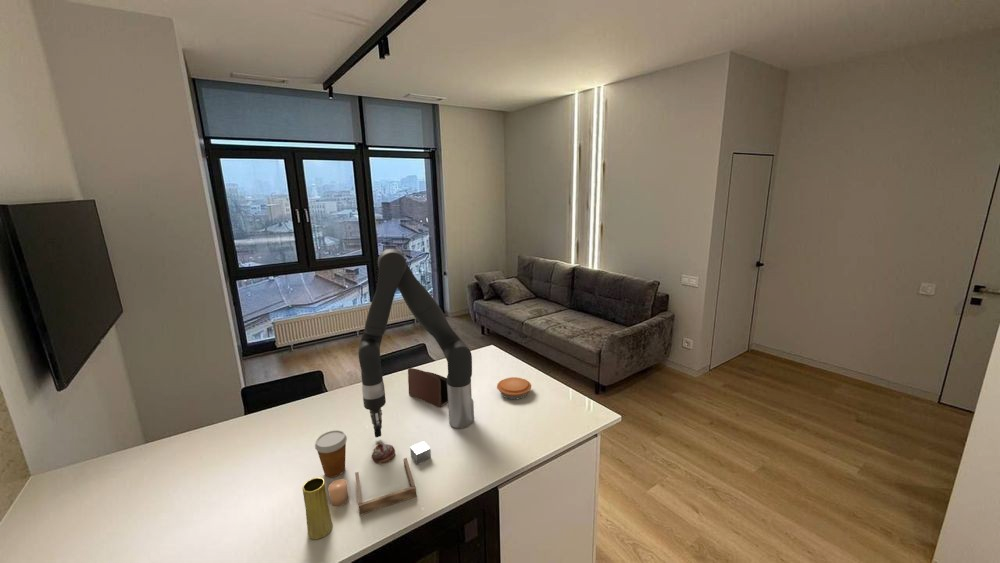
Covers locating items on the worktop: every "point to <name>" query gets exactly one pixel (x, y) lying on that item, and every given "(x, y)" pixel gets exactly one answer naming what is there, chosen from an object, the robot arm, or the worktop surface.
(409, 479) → the display bay
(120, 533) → the worktop surface
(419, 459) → the gray block
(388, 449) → the pastry
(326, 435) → the disposable coffee cup
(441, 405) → the letter holder
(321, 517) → the vase
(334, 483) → the peach rounded blob
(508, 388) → the pie
